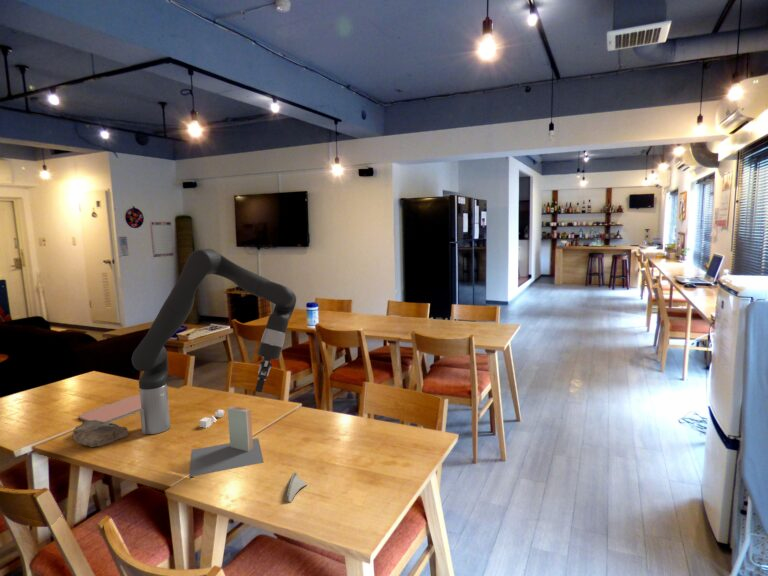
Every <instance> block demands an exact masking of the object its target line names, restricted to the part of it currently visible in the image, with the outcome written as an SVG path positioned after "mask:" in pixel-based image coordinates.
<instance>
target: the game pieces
mask: <svg viewBox="0 0 768 576" xmlns="http://www.w3.org/2000/svg"><path fill="white" fill-rule="evenodd" d="M214 413H215V414H214V415H211V417H202V419H199V421H198V423H199V428H200V427H203V428H202V429H208V428H209V427H211V426H212V424H214V423H213V422H215V423H217V422H218V420H217V417H218V418H220V419H221V418H222V417H224V415H225V410H224V409H217V410H216V411H214ZM216 421H217V422H216ZM207 427H208V428H207Z"/></svg>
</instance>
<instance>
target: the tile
mask: <svg viewBox="0 0 768 576" xmlns="http://www.w3.org/2000/svg"><path fill="white" fill-rule="evenodd" d="M251 411H252V409H251V408H246V407H241V406H235V405H231V406H229V407H228V408H227V419H228V434H229V435H228V436H229V443H230V447H233V448H237V449H241V450H245V451H250V450H251V449H253V440H252V439H253V426H252V412H251Z"/></svg>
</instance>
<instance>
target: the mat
mask: <svg viewBox="0 0 768 576" xmlns="http://www.w3.org/2000/svg"><path fill="white" fill-rule="evenodd" d="M252 440H253V449H251V450H250V451H245V450H241V449H237V448H233V447H230V442H228V443H223V444H217V445H211V446H206V447H200V448H194V449H191V452H190V453H191V454H190V464H189V465H190V466H189V477H188V478H189V479H194V478H196V476H200V475H207V474H212V473H215V472H217V473H218V472H222V471H226V470H227V471H228V470H232V469H237V468H243V467H247V466H253V465H258V464H259V465H260V464H263V463H264V457H263V454H262V453H263V452H262V449H261V444H260V440H259V438H258V437H257V438H252Z"/></svg>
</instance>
